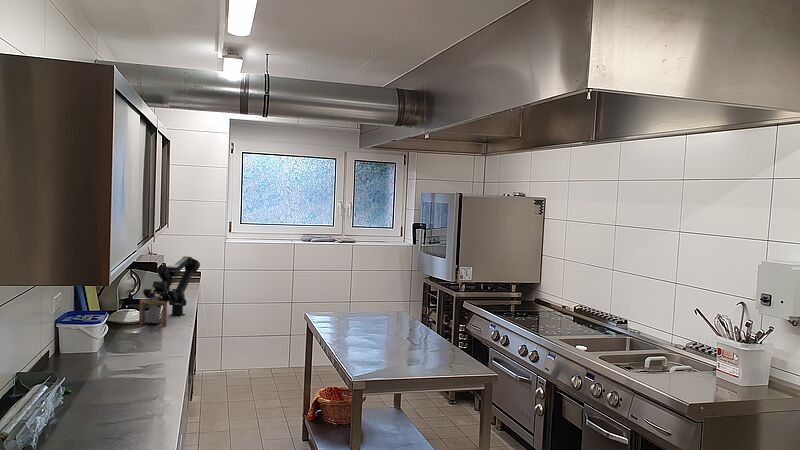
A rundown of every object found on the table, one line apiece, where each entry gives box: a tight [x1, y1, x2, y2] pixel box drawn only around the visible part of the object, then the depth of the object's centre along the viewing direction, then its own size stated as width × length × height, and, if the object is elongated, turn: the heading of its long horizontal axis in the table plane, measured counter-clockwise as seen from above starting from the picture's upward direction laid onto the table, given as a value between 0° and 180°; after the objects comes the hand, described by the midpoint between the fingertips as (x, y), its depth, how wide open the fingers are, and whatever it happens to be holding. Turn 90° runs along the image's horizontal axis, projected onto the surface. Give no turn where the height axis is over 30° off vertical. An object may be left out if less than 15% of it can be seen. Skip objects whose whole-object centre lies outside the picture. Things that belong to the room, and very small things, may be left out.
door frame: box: [138, 298, 168, 328], centre depth 334 cm, size 2×16×14 cm, turn 76°
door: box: [144, 310, 149, 324], centre depth 343 cm, size 12×1×6 cm, turn 166°
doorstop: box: [145, 293, 162, 325], centre depth 338 cm, size 6×6×17 cm
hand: (154, 306), depth 337 cm, fingers open, 4 cm apart
